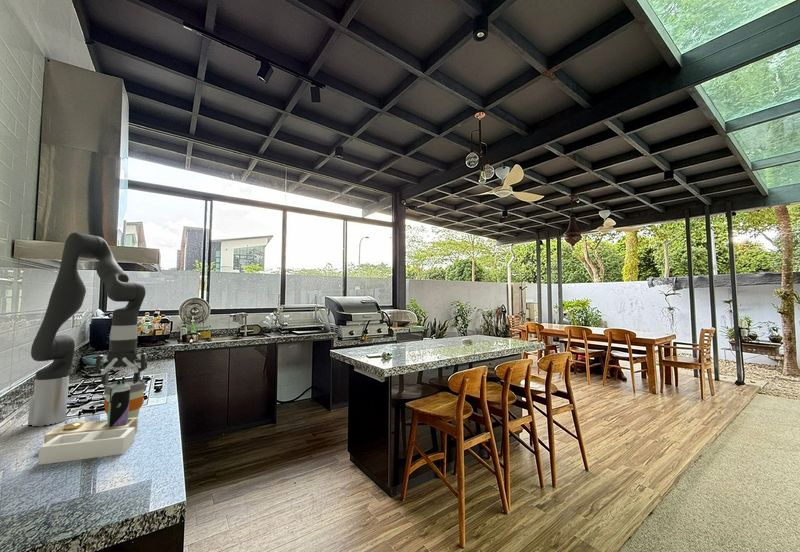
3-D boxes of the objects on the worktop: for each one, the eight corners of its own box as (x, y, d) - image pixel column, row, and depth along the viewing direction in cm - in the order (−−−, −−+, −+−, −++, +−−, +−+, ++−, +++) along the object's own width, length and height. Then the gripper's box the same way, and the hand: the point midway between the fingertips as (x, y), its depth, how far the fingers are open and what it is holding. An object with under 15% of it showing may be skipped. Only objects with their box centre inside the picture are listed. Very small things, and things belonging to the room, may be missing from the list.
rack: (37, 464, 95) (39, 447, 95) (56, 451, 103) (58, 435, 103) (122, 454, 102) (124, 437, 102) (134, 442, 110) (135, 427, 111)
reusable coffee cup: (106, 419, 130) (109, 381, 131) (145, 414, 136) (148, 377, 137) (96, 430, 119) (100, 388, 120) (139, 424, 125) (142, 384, 126)
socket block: (43, 451, 103) (44, 434, 103) (60, 439, 111) (61, 424, 112) (126, 441, 111) (128, 426, 111) (137, 431, 119) (138, 417, 120)
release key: (59, 445, 106) (60, 427, 107) (67, 439, 110) (68, 422, 111) (76, 443, 108) (78, 426, 108) (83, 437, 112) (85, 421, 112)
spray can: (114, 442, 110) (119, 382, 111) (101, 440, 111) (106, 381, 112) (130, 435, 115) (135, 378, 117) (118, 434, 116) (122, 377, 118)
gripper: (151, 336, 122) (148, 380, 121) (103, 337, 117) (100, 383, 116) (144, 338, 115) (141, 385, 114) (93, 339, 110) (89, 388, 109)
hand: (120, 384), depth 115 cm, fingers open, 8 cm apart
